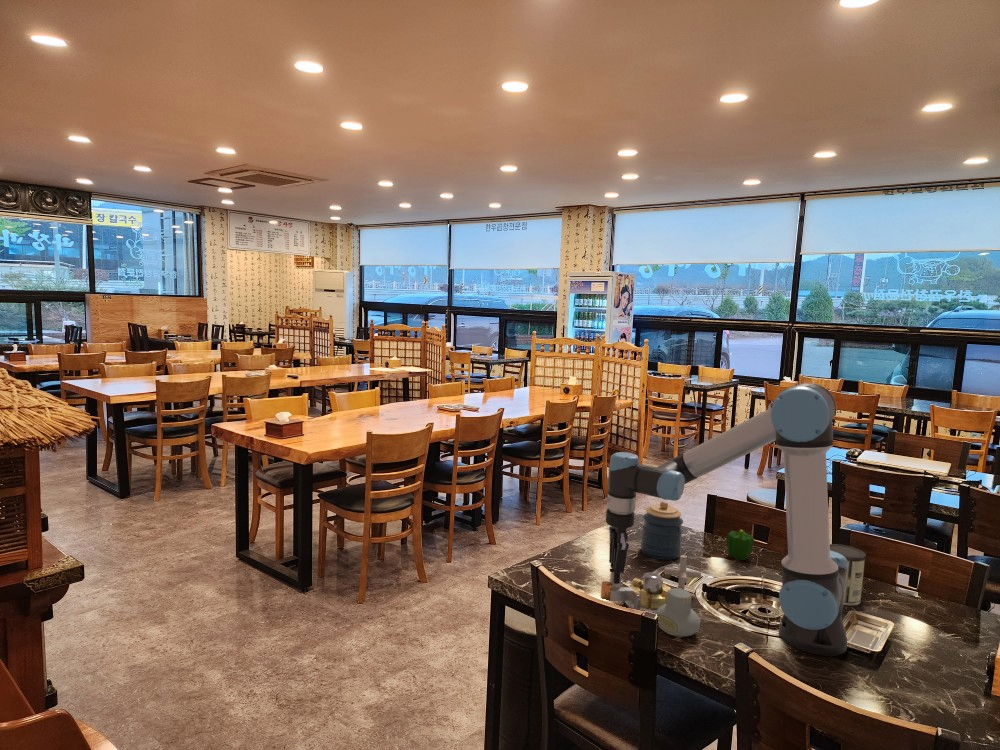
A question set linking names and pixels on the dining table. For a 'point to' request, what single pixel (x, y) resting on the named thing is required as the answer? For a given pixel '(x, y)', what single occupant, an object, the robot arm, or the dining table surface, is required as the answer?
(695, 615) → the air freshener
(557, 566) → the dining table surface
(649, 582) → the gold and silver mechanism
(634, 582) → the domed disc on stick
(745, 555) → the bell pepper
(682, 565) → the pipe connector
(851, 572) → the coffee can
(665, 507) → the canister
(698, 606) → the dining table surface
